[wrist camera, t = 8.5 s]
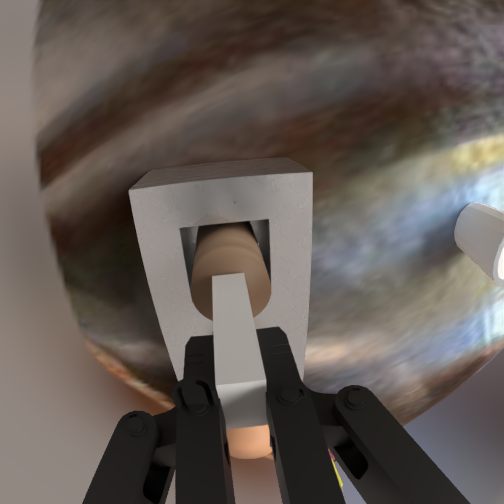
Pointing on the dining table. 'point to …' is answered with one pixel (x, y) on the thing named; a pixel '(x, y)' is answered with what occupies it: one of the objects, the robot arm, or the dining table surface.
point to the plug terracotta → (249, 442)
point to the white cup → (482, 238)
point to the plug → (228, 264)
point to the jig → (226, 211)
